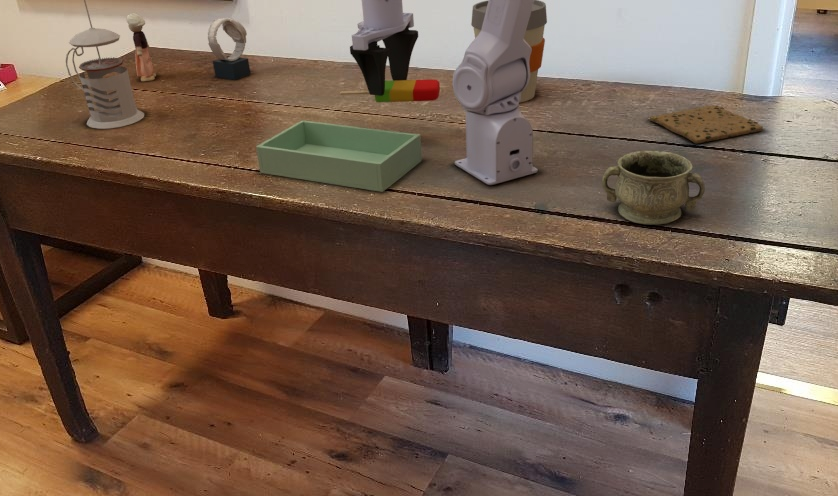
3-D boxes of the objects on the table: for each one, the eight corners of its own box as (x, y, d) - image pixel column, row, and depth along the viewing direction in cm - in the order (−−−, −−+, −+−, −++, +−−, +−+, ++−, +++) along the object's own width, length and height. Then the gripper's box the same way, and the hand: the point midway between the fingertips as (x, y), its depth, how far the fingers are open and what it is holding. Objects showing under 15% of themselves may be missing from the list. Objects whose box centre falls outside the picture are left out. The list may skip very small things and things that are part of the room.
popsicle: (438, 101, 117) (437, 88, 116) (337, 104, 118) (335, 91, 117) (440, 90, 121) (440, 78, 120) (343, 93, 123) (341, 81, 122)
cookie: (712, 107, 128) (713, 101, 127) (764, 130, 118) (765, 124, 118) (647, 119, 125) (648, 113, 124) (695, 144, 115) (696, 137, 114)
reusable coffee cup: (543, 106, 133) (546, 13, 125) (468, 106, 135) (466, 14, 127) (546, 84, 144) (548, -4, 136) (476, 84, 146) (475, -2, 138)
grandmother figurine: (138, 75, 164) (122, 11, 157) (157, 72, 165) (142, 8, 158) (138, 85, 158) (122, 18, 151) (158, 82, 158) (143, 16, 152)
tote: (421, 161, 116) (420, 134, 113) (382, 192, 107) (380, 164, 105) (305, 145, 124) (302, 120, 122) (260, 172, 115) (255, 146, 113)
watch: (257, 71, 161) (248, 15, 156) (228, 82, 156) (218, 24, 150) (237, 68, 164) (228, 13, 158) (208, 79, 159) (197, 21, 153)
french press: (121, 130, 134) (79, -28, 121) (65, 126, 138) (19, -29, 125) (155, 111, 142) (120, -39, 129) (102, 108, 146) (62, -39, 133)
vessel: (593, 221, 96) (597, 172, 93) (606, 192, 103) (609, 145, 100) (698, 232, 92) (705, 182, 89) (703, 201, 99) (710, 153, 96)
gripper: (381, -20, 119) (388, 72, 126) (329, 0, 108) (340, 99, 115) (424, -18, 116) (428, 75, 123) (374, 3, 105) (382, 104, 112)
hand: (388, 87), depth 119 cm, fingers closed on popsicle, 6 cm apart
